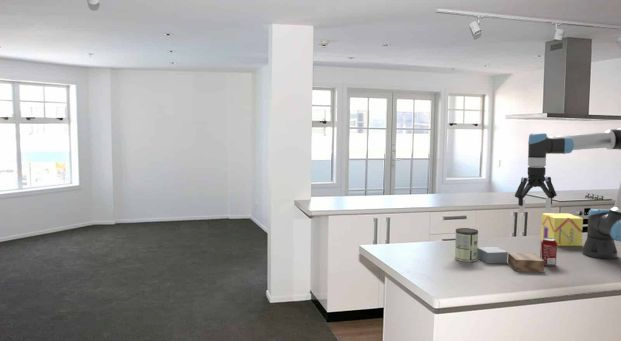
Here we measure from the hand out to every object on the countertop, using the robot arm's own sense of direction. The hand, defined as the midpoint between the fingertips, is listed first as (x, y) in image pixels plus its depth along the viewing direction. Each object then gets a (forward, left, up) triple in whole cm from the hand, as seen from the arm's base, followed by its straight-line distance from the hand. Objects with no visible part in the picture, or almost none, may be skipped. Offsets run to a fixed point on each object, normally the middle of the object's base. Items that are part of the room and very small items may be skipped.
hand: (535, 212), depth 229 cm
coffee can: (+30, -1, -24) cm, 39 cm away
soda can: (-6, +3, -24) cm, 25 cm away
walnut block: (+6, +10, -24) cm, 27 cm away
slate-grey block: (+18, -1, -24) cm, 30 cm away
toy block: (-29, -45, -24) cm, 58 cm away
